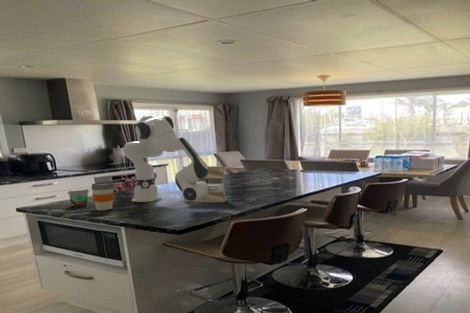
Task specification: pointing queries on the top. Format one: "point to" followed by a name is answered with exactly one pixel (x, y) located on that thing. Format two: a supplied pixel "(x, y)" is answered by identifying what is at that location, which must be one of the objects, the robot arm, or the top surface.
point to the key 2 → (215, 181)
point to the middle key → (204, 180)
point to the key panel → (212, 173)
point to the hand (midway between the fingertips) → (208, 185)
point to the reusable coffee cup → (103, 195)
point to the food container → (78, 197)
